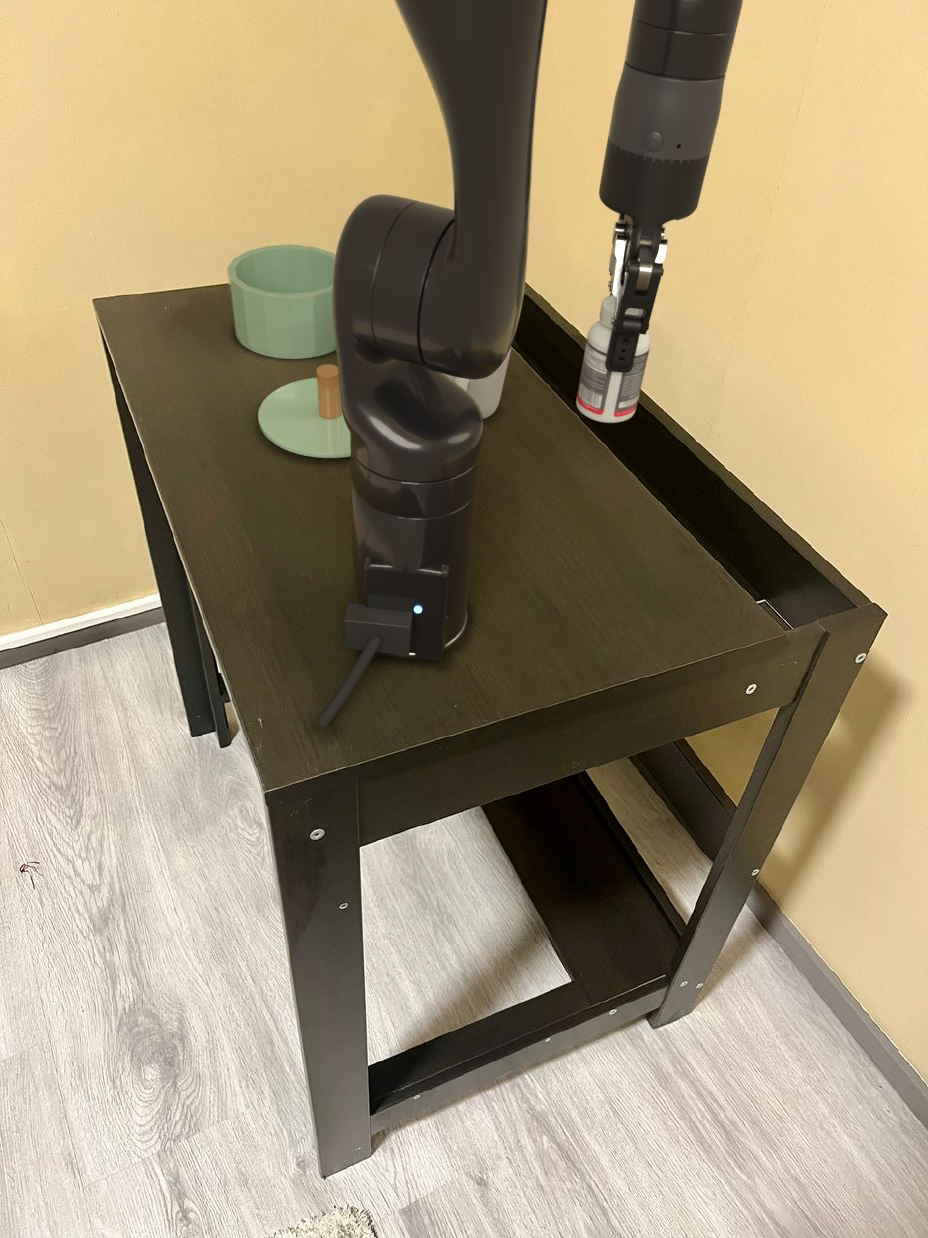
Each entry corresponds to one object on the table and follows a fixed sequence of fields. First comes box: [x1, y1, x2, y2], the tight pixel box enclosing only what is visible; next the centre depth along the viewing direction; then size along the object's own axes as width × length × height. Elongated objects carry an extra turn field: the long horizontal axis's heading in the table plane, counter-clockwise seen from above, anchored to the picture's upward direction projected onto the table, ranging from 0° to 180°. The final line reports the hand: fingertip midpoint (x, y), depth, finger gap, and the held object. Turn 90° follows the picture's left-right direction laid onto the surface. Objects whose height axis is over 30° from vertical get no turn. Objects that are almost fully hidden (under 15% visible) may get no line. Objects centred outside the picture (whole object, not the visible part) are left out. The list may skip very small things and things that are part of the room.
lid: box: [257, 363, 351, 459], centre depth 93 cm, size 15×15×6 cm
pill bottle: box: [575, 295, 652, 424], centre depth 78 cm, size 5×5×10 cm
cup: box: [445, 347, 512, 419], centre depth 95 cm, size 11×8×8 cm
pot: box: [226, 244, 336, 360], centre depth 106 cm, size 14×14×8 cm
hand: (616, 351), depth 77 cm, fingers closed on pill bottle, 5 cm apart
